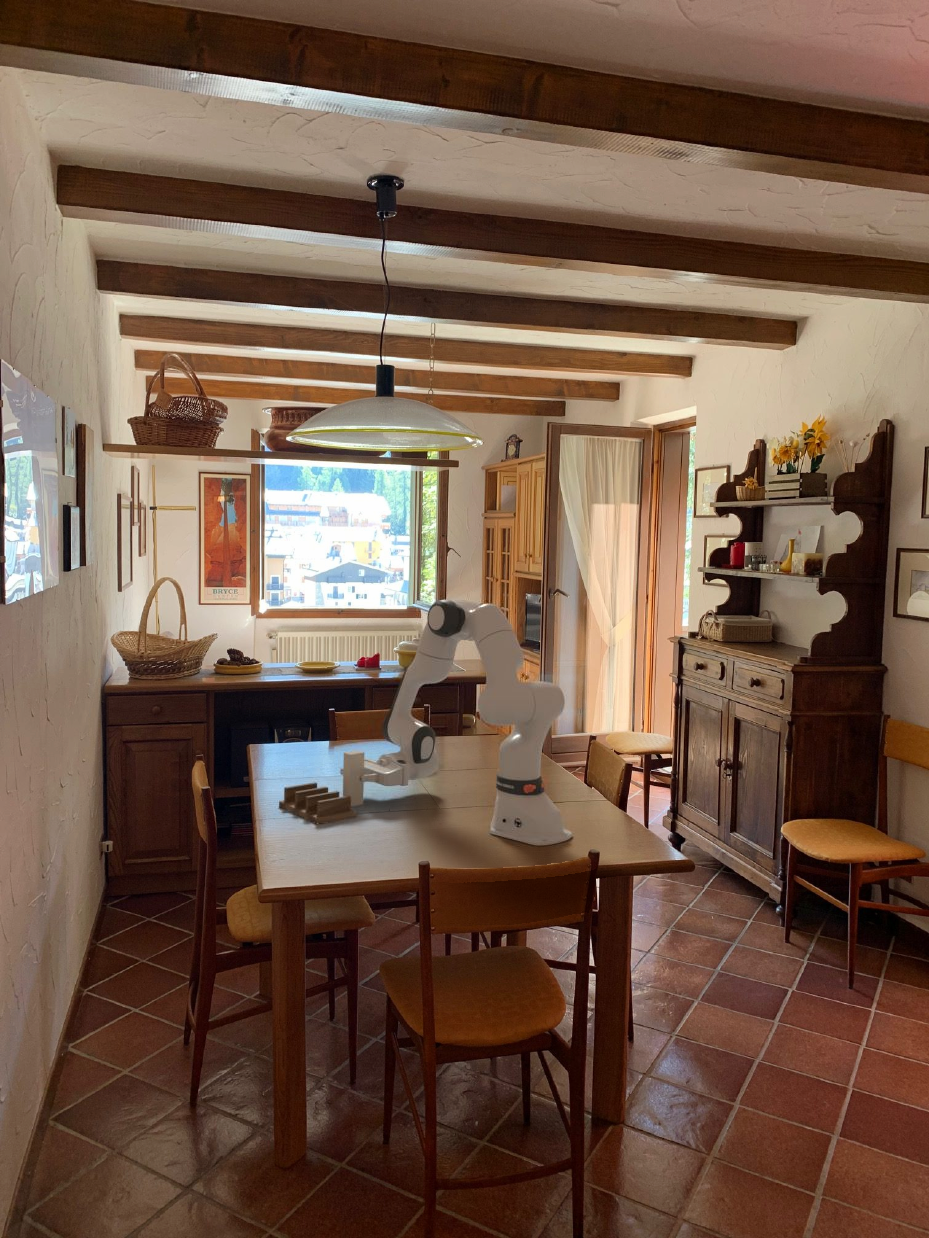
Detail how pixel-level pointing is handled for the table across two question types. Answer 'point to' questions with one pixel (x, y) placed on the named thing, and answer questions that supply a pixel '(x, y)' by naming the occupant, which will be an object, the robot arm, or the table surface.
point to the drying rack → (316, 803)
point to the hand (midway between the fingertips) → (351, 775)
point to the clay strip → (353, 776)
